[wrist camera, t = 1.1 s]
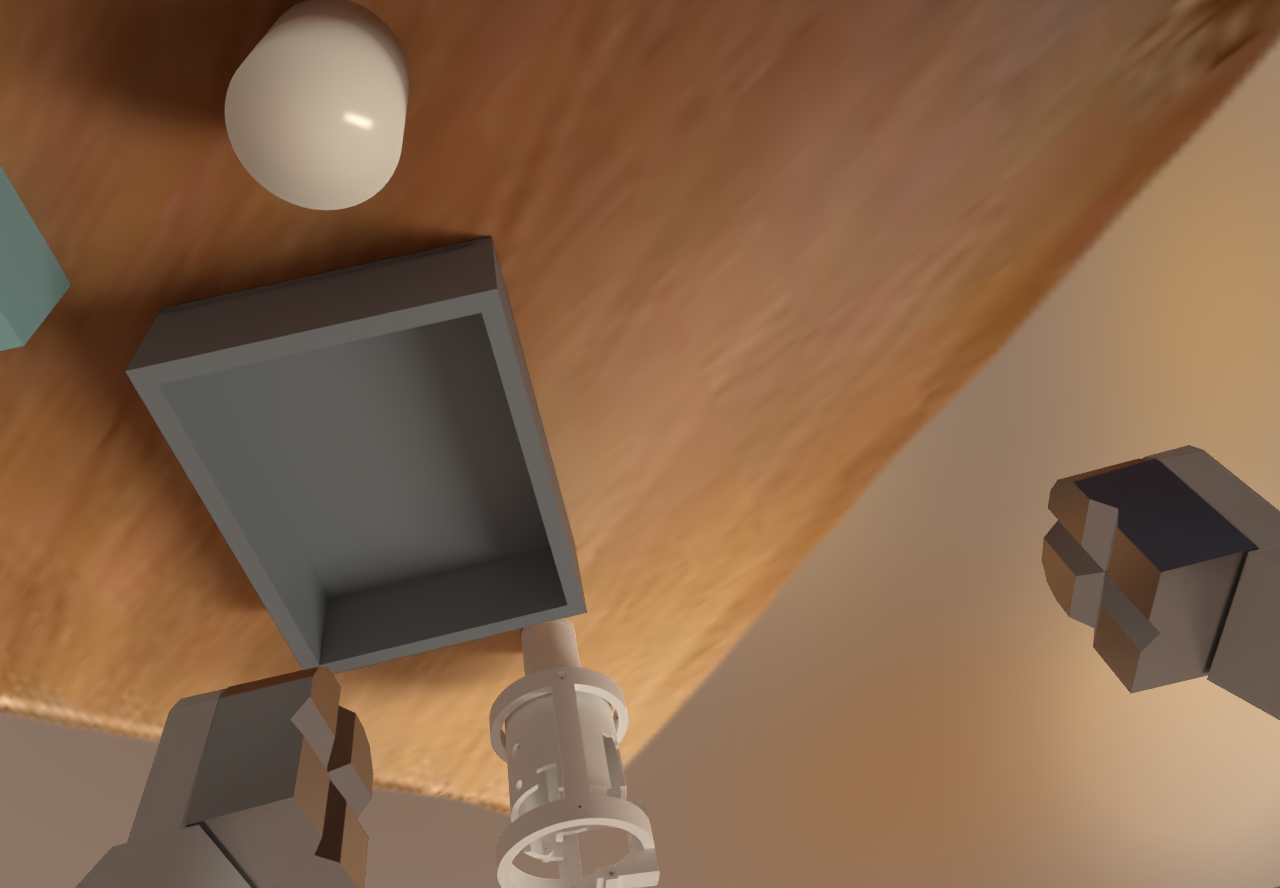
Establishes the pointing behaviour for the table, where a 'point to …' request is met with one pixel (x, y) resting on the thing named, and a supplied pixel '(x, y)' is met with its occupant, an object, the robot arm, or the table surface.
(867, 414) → the table surface
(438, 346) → the tote
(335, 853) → the robot arm
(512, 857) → the grey slotted cylindrical housing
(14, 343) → the teal cube
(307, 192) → the cream capsule
